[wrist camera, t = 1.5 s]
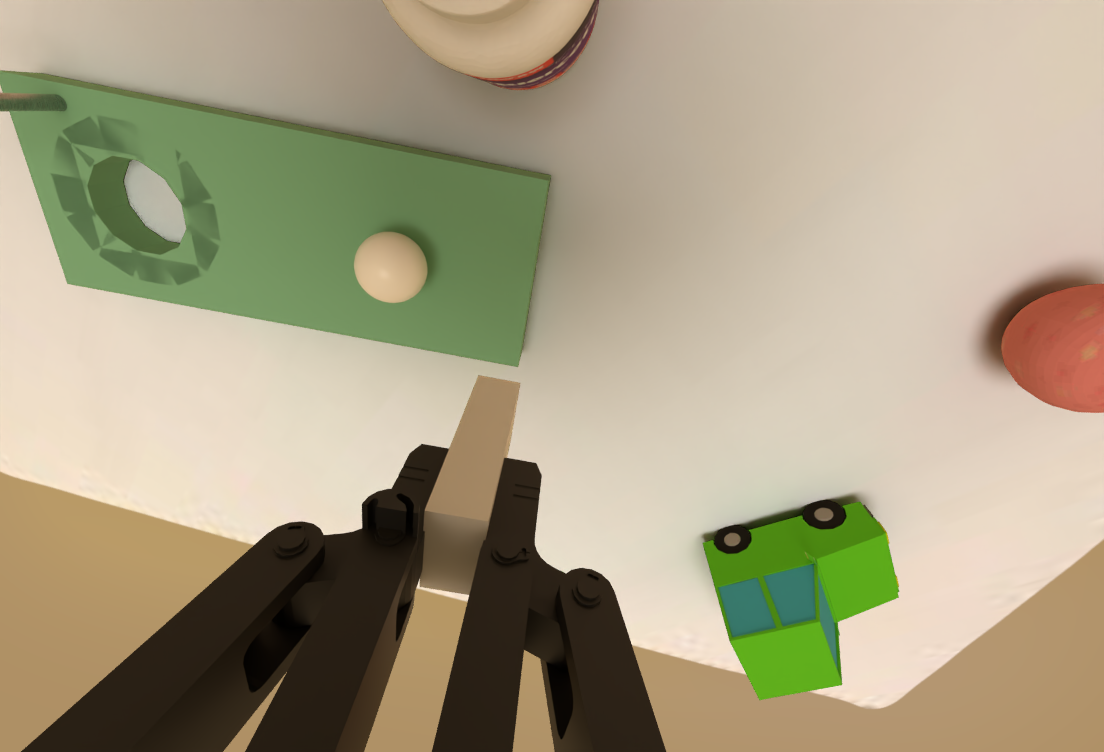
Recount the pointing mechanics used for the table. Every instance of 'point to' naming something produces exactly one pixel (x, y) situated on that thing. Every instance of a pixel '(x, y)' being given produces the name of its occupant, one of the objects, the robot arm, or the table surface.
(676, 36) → the table surface
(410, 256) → the ball
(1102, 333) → the apple
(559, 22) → the pill bottle
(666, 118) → the table surface
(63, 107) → the flag pin
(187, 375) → the table surface
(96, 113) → the putting mat
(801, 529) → the toy car
